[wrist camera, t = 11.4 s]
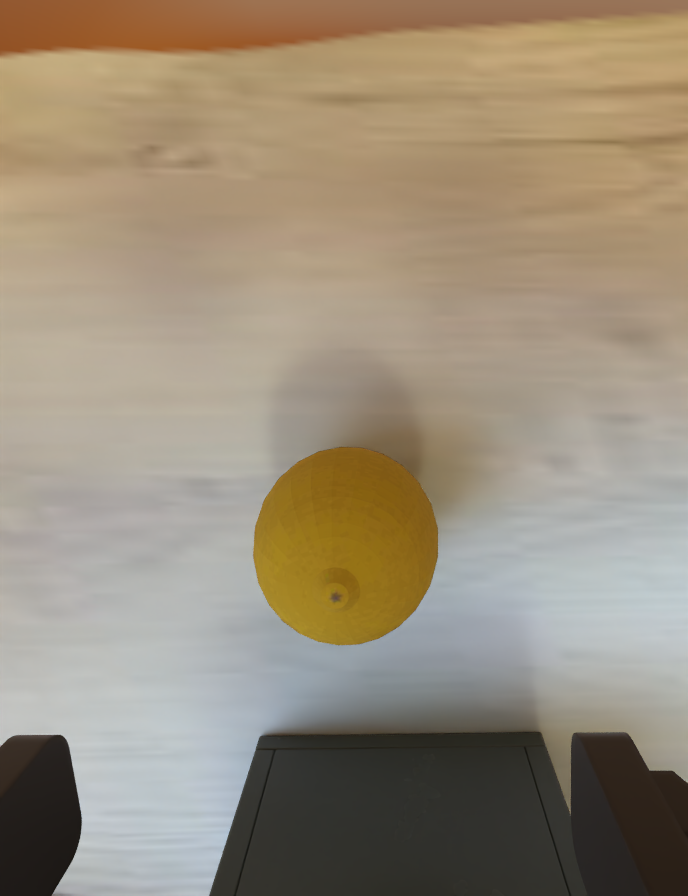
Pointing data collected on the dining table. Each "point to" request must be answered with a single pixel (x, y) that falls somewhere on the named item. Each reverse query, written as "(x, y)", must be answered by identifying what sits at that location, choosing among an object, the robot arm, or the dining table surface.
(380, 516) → the lemon
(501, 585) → the dining table surface
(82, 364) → the dining table surface
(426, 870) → the drawer box
